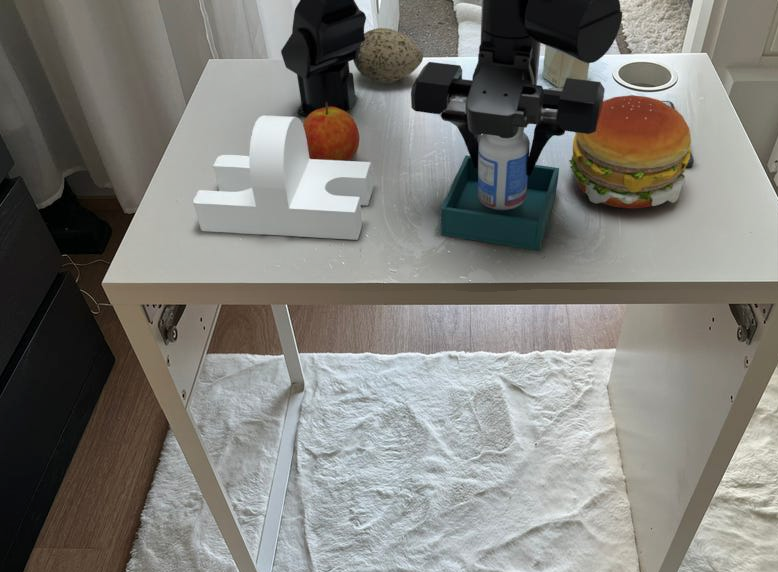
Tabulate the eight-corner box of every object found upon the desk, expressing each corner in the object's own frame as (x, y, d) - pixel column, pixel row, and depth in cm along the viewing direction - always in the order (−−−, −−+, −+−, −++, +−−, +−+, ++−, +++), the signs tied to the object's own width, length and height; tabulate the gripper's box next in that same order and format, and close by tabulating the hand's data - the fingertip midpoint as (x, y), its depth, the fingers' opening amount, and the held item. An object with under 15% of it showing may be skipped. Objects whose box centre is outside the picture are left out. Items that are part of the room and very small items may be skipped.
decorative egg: (344, 28, 104) (415, 30, 102) (361, 25, 110) (429, 27, 108) (346, 84, 107) (415, 87, 105) (363, 78, 113) (428, 81, 111)
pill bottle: (526, 184, 87) (533, 105, 80) (525, 212, 84) (532, 132, 77) (478, 182, 88) (480, 103, 81) (475, 210, 84) (478, 130, 77)
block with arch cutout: (372, 189, 91) (365, 102, 83) (357, 240, 85) (348, 151, 77) (226, 181, 93) (205, 96, 85) (200, 230, 86) (174, 142, 78)
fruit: (352, 181, 92) (345, 121, 87) (297, 175, 94) (287, 115, 88) (368, 151, 97) (363, 91, 91) (315, 145, 98) (307, 86, 92)
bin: (440, 235, 85) (440, 208, 82) (465, 180, 92) (465, 154, 90) (539, 250, 83) (542, 224, 80) (556, 193, 90) (559, 167, 87)
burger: (613, 140, 97) (626, 64, 90) (706, 184, 91) (729, 106, 83) (544, 185, 91) (551, 108, 84) (638, 235, 84) (656, 156, 77)
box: (558, 89, 107) (566, 8, 99) (541, 76, 110) (548, -4, 102) (589, 80, 109) (600, 0, 101) (571, 68, 112) (581, -11, 104)
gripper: (390, 52, 68) (398, 199, 80) (600, 76, 65) (577, 227, 76) (425, 2, 76) (427, 143, 87) (615, 22, 72) (592, 166, 83)
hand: (502, 169), depth 83 cm, fingers closed on pill bottle, 5 cm apart
